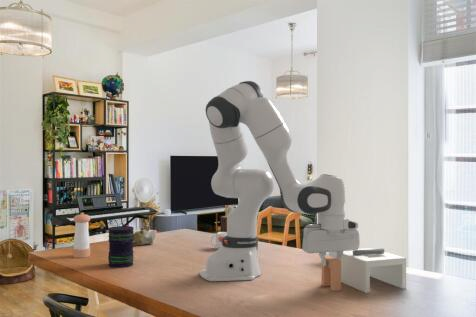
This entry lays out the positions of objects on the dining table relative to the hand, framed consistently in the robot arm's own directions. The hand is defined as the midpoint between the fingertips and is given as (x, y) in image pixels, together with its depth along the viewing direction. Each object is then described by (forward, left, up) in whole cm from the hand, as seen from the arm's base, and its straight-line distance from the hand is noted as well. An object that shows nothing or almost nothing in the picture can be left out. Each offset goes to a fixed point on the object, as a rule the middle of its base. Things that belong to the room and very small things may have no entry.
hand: (331, 265), depth 139 cm
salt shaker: (-78, +78, -8) cm, 111 cm away
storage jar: (-63, +55, -8) cm, 84 cm away
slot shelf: (+15, 0, -7) cm, 17 cm away
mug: (-14, +75, -8) cm, 77 cm away
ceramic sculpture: (-50, +97, -8) cm, 110 cm away
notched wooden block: (0, 0, -7) cm, 7 cm away
